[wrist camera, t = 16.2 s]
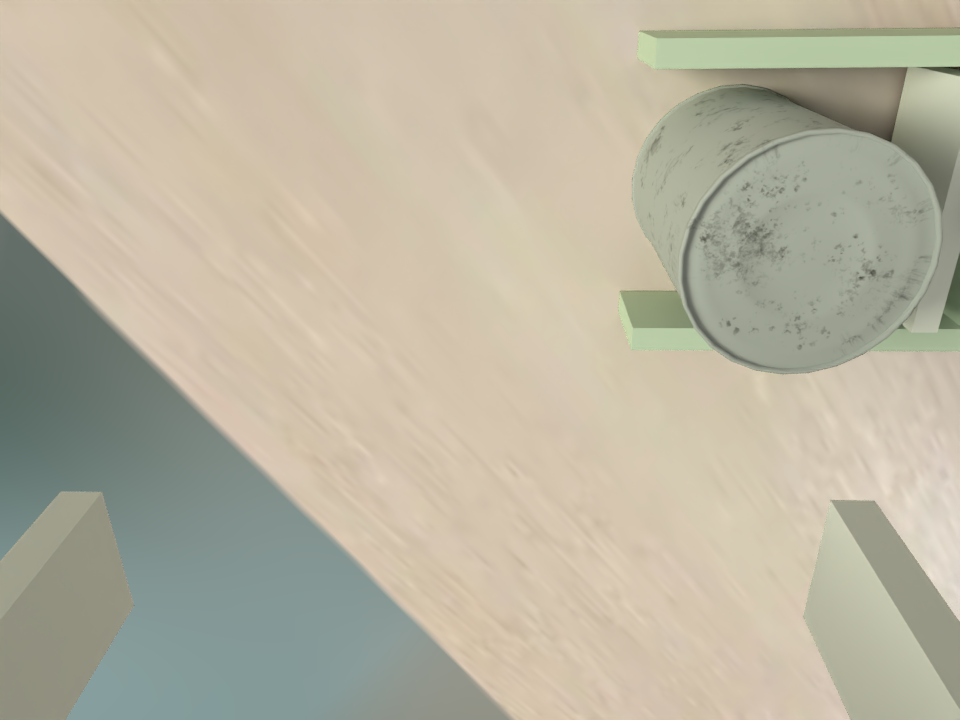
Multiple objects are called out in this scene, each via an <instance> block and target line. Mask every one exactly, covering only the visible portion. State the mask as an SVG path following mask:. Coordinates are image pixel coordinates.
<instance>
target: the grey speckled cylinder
mask: <svg viewBox="0 0 960 720" xmlns="http://www.w3.org/2000/svg"><path fill="white" fill-rule="evenodd" d="M632 201H633V205H634V210H635V214H636V218H637V220H638V222H639V224H640V226H641V228H642V230H643V232H644V234H645V236H646V237H647V239H648V240H649V241H650V242H651V243H652V245H653V247H654V249H655V251H656V253H657V255H658V257H659V258H660V260H661V262H662V264H663V266H664V268H665V270H666V271H667V273H668V275H669V277H670V279H671V281H672V283H673V285H674V286H675V288H676V290H677V292H678V294H679V296H680V298H681V300H682V305H683V307H684V309H685V311H686V313H687V315H688V317H689V319H690V321H691V323H692V325H693V327H694V329H695V330H696V331H697V332H698V333H699V335H700V336H701V337H702V338H703V339H704V340H705V341H706V343H707V344H708V345H709V346H710V347H711V348H712V349H714V350H715V351H717V352H718V353H720V354H721V355H723V356H724V357H726V358H727V359H729V360H730V361H732V362H735V363H737V364H740V365H742V366H745V367H748V368H750V369H753V370H756V371H763V372H769V373H776V374H798V373H811V372H815V371H819V370H823V369H827V368H831V367H835V366H838V365H840V364H843V363H845V362H847V361H849V360H852V359H854V358H856V357H858V356H861V355H863V354H865V353H866V352H867V351H869V350H870V349H872V348H873V347H875V346H876V345H878V344H879V343H881V342H882V341H884V340H885V339H887V338H888V337H889V336H890V335H891V334H892V333H893V332H894V331H895V330H896V329H897V328H898V327H899V326H900V325H901V324H902V323H904V322H905V321H906V320H907V319H908V318H909V316H910V315H911V314H912V312H913V311H914V309H915V308H916V307H917V305H918V304H919V302H920V301H921V299H922V298H923V297H924V295H925V294H926V292H927V290H928V287H929V285H930V283H931V281H932V278H933V276H934V274H935V271H936V269H937V267H938V262H939V257H940V252H941V247H942V242H943V227H942V210H941V207H940V204H939V201H938V198H937V195H936V192H935V189H934V186H933V184H932V182H931V181H930V179H929V178H928V177H927V175H926V174H925V172H924V171H923V169H922V168H921V166H920V165H919V163H918V162H917V161H916V160H914V159H913V158H912V157H911V156H909V155H908V154H907V153H906V152H905V151H903V150H902V149H901V148H900V147H898V146H897V145H896V144H894V143H891V142H889V141H887V140H885V139H882V138H880V137H878V136H875V135H873V134H871V133H869V132H864V131H858V130H854V129H852V128H850V127H847V126H845V125H843V124H840V123H838V122H836V121H834V120H831V119H829V118H827V117H824V116H822V115H820V114H818V113H815V112H813V111H811V110H808V109H806V108H804V107H801V106H799V105H797V104H795V103H792V102H791V101H789V100H788V99H787V98H786V97H784V96H782V95H779V94H777V93H775V92H773V91H770V90H768V89H766V88H762V87H755V86H749V85H743V84H742V85H729V86H719V87H716V88H713V89H710V90H706V91H703V92H700V93H698V94H696V95H694V96H692V97H690V98H689V99H687V100H685V101H683V102H681V103H680V104H678V105H677V106H676V107H675V108H673V109H672V110H671V111H670V112H669V113H668V114H667V115H665V116H664V117H663V118H662V119H661V120H660V121H659V122H658V124H657V125H656V126H655V128H654V129H653V130H652V132H651V133H650V134H649V136H648V137H647V138H646V140H645V143H644V145H643V147H642V149H641V151H640V153H639V155H638V157H637V161H636V165H635V169H634V174H633V178H632Z"/></svg>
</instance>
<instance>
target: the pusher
mask: <svg viewBox="0 0 960 720" xmlns="http://www.w3.org/2000/svg"><path fill="white" fill-rule="evenodd" d="M891 143H894V144H896V145H897V146H898V147H900V148H901V149H902V150H903V151H905V152H906V153H907V154H908V155H909V156H911V157H912V158H913V159H914V160H916V161H917V162H918V163H919V165H920V166H921V168H922V169H923V171H924V172H925V174H926V175H927V177H928V178H929V179H930V181H931V182H932V184H933V186H934V189H935V192H936V195H937V198H938V201H939V204H940V207H941V210H942V227H943V242H942V247H941V252H940V257H939V262H938V267H937V269H936V271H935V274H934V276H933V278H932V281H931V283H930V285H929V287H928V290H927V292H926V294H925V295H924V297H923V298H922V299H921V301H920V302H919V304H918V305H917V307H916V308H915V309H914V311H913V312H912V314H911V315H910V316H909V318H908V319H907V320H906V321H905V322H904V323H902V325H903V326H904V327H905V328H907V329H908V330H909V331H910V332H911V333H937V332H938V328H939V325H940V321H941V317H942V314H943V310H944V307H945V303H946V299H947V296H948V292H949V289H950V285H951V282H952V278H953V274H954V271H955V267H956V264H957V260H958V257H959V253H960V70H956V69H951V68H946V67H908V69H907V73H906V78H905V82H904V87H903V91H902V96H901V100H900V105H899V109H898V114H897V118H896V123H895V127H894V132H893V136H892V140H891Z"/></svg>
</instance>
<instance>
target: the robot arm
mask: <svg viewBox="0 0 960 720" xmlns="http://www.w3.org/2000/svg"><path fill="white" fill-rule="evenodd" d="M133 606H134V604H133V600H132V597H131V593H130V590H129V586H128V583H127V579H126V575H125V572H124V568H123V565H122V561H121V558H120V554H119V551H118V547H117V544H116V540H115V537H114V533H113V530H112V526H111V522H110V519H109V515H108V512H107V508H106V505H105V501H104V498H103V494H102V492H60V493H59V494H58V496H57V497H56V498H55V499H54V500H53V501H52V502H51V504H50V505H49V506H48V507H47V508H46V509H45V510H44V512H43V513H42V514H41V515H40V516H39V517H38V518H37V520H36V521H35V522H34V523H33V524H32V525H31V526H30V528H29V529H28V530H27V531H26V532H25V533H24V534H23V536H22V537H21V538H20V539H19V540H18V541H17V542H16V544H15V545H14V546H13V547H12V548H11V549H10V550H9V552H8V553H7V554H6V555H5V556H4V557H3V558H2V560H1V561H0V720H66V718H67V716H68V715H69V713H70V712H71V710H72V708H73V707H74V705H75V703H76V702H77V700H78V698H79V696H80V695H81V693H82V692H83V690H84V688H85V686H86V685H87V683H88V681H89V680H90V678H91V676H92V675H93V673H94V671H95V670H96V668H97V666H98V665H99V663H100V661H101V660H102V658H103V656H104V655H105V653H106V651H107V650H108V648H109V646H110V645H111V643H112V641H113V640H114V638H115V636H116V635H117V633H118V631H119V629H120V628H121V626H122V625H123V623H124V621H125V620H126V618H127V616H128V614H129V613H130V611H131V610H132V608H133ZM803 617H804V620H805V622H806V624H807V626H808V628H809V630H810V633H811V635H812V637H813V639H814V641H815V643H816V646H817V648H818V650H819V652H820V654H821V656H822V659H823V661H824V663H825V665H826V667H827V670H828V672H829V674H830V676H831V678H832V680H833V683H834V685H835V687H836V689H837V691H838V693H839V696H840V698H841V700H842V702H843V704H844V706H845V709H846V711H847V713H848V715H849V717H850V719H851V720H960V622H959V620H958V619H957V618H956V616H955V615H954V613H953V612H952V610H951V609H950V608H949V606H948V605H947V603H946V602H945V600H944V599H943V598H942V596H941V595H940V593H939V592H938V590H937V589H936V588H935V586H934V585H933V583H932V582H931V580H930V579H929V578H928V576H927V575H926V573H925V572H924V570H923V569H922V568H921V566H920V565H919V563H918V562H917V560H916V559H915V558H914V556H913V555H912V553H911V552H910V550H909V549H908V548H907V546H906V545H905V543H904V542H903V540H902V539H901V538H900V536H899V535H898V533H897V532H896V530H895V529H894V528H893V526H892V525H891V523H890V522H889V520H888V519H887V518H886V516H885V515H884V513H883V512H882V510H881V509H880V508H879V506H878V505H877V503H876V502H875V501H856V500H831V501H830V505H829V509H828V513H827V518H826V522H825V526H824V530H823V534H822V539H821V543H820V547H819V551H818V556H817V560H816V564H815V568H814V572H813V577H812V581H811V585H810V589H809V594H808V598H807V602H806V606H805V611H804V615H803Z"/></svg>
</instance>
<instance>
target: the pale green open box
mask: <svg viewBox="0 0 960 720" xmlns="http://www.w3.org/2000/svg"><path fill="white" fill-rule="evenodd" d="M637 58H638V59H639V60H641V61H642V62H644V63H646V64H647V65H649V66H650V67H652V68H654V69H729V68H845V67H960V28H890V29H794V30H698V31H639V39H638V53H637ZM618 312H619V315H620V318H621V321H622V324H623V327H624V330H625V333H626V336H627V340H628V343H629V346H630V349H631V350H714V349H712V348H711V347H710V346H709V345H708V344H707V343H706V341H705V340H704V339H703V338H702V337H701V336H700V335H699V333H698V332H697V331H696V330H695V329H694V327H693V325H692V323H691V321H690V319H689V317H688V315H687V313H686V311H685V309H684V307H683V305H682V300H681V298H680V296H679V294H678V292H677V291H620V294H619V307H618ZM869 351H960V253H959V257H958V260H957V264H956V267H955V271H954V274H953V278H952V282H951V285H950V289H949V292H948V296H947V299H946V303H945V307H944V310H943V314H942V317H941V321H940V325H939V328H938V332H937V333H911V332H910V331H909V330H908V329H907V328H905V327H904V326H903V325H902V324H901V325H900V326H899V327H898V328H897V329H896V330H895V331H894V332H893V333H892V334H891V335H890V336H889V337H888V338H887V339H885V340H884V341H882V342H881V343H879V344H878V345H876V346H875V347H873V348H872V349H870V350H869Z"/></svg>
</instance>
